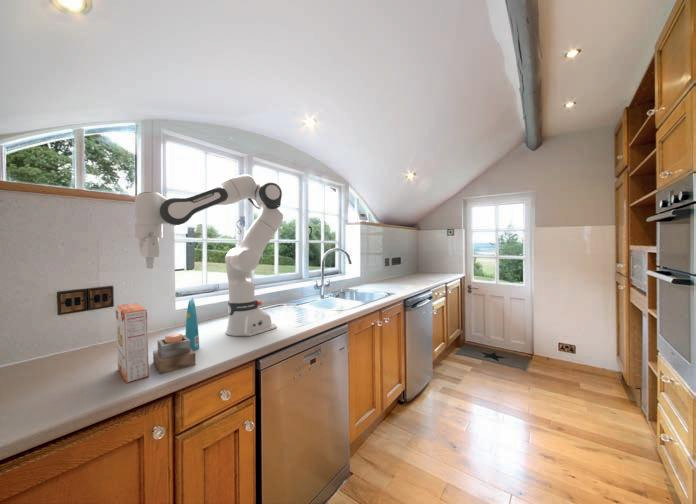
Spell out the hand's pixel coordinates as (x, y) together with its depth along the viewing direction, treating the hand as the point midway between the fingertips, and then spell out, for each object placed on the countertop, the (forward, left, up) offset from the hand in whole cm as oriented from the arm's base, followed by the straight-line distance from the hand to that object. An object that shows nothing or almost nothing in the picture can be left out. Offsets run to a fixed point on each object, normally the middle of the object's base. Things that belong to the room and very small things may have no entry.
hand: (149, 268), depth 109 cm
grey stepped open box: (-3, +25, -31) cm, 40 cm away
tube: (-11, +14, -31) cm, 36 cm away
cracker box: (+8, +24, -31) cm, 40 cm away
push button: (-3, +25, -27) cm, 37 cm away
